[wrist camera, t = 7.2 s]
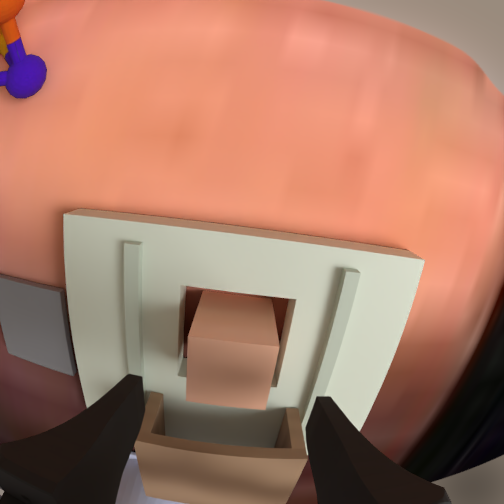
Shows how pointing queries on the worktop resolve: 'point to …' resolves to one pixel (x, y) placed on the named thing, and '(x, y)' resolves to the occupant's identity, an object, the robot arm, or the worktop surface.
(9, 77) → the molecular model
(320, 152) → the worktop surface
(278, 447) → the walnut cover
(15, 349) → the slate pad
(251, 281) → the puzzle board
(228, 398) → the terracotta block
